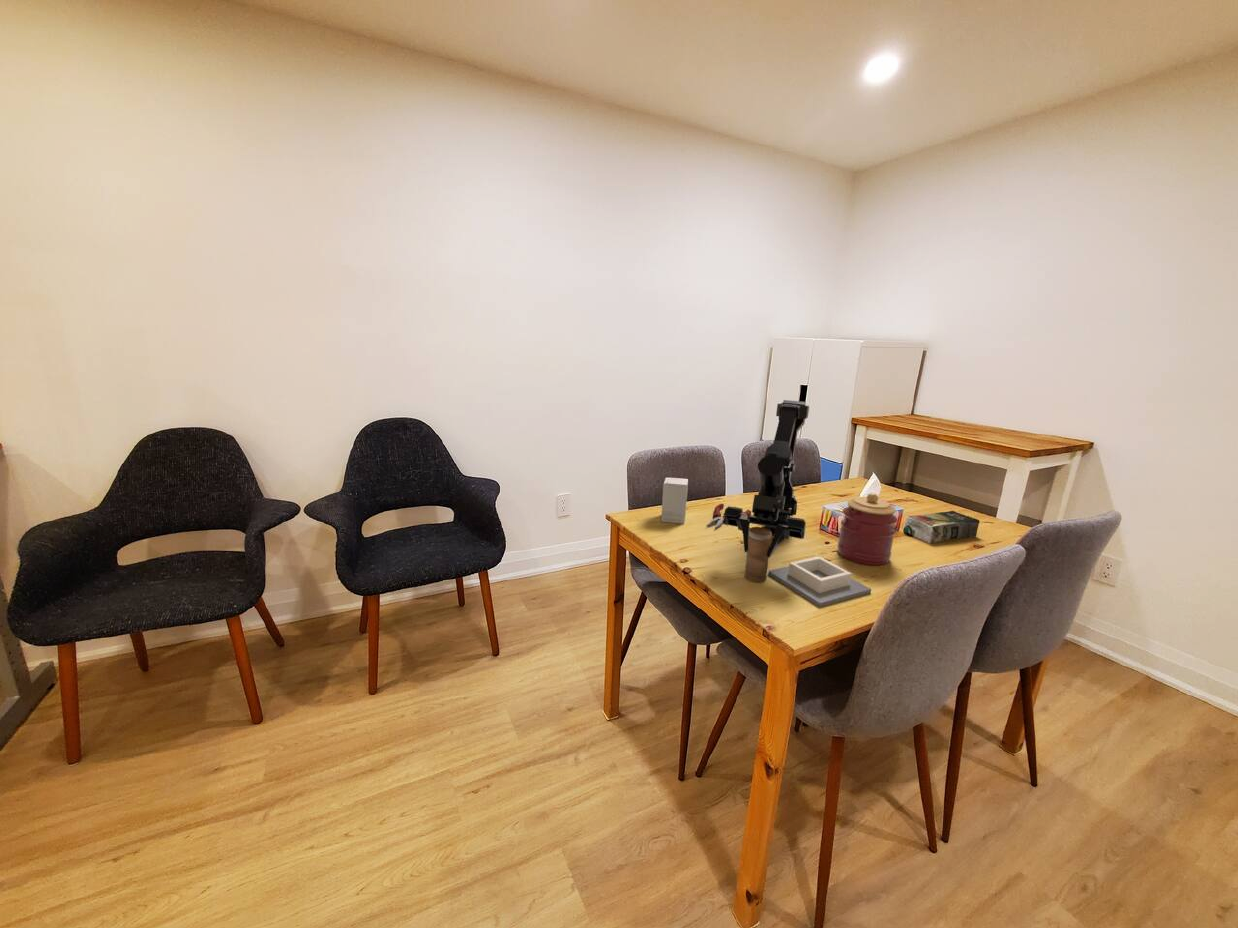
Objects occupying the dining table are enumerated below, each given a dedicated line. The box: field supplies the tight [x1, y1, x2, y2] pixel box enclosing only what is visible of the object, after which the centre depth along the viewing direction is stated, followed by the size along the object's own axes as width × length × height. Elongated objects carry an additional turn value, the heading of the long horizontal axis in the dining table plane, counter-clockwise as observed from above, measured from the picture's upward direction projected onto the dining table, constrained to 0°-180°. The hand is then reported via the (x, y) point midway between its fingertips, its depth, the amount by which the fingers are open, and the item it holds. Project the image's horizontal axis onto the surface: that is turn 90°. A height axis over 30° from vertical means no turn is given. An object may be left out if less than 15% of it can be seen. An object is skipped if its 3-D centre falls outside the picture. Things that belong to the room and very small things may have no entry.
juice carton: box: [902, 510, 980, 544], centre depth 146 cm, size 20×10×6 cm, turn 109°
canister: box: [837, 492, 899, 566], centre depth 129 cm, size 13×13×18 cm
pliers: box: [706, 503, 752, 529], centre depth 154 cm, size 12×20×3 cm, turn 145°
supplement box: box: [660, 477, 689, 525], centre depth 152 cm, size 7×7×13 cm
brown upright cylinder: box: [744, 526, 773, 583], centre depth 115 cm, size 5×5×12 cm
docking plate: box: [767, 556, 872, 608], centre depth 114 cm, size 16×16×4 cm
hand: (756, 554), depth 114 cm, fingers closed on brown upright cylinder, 5 cm apart
